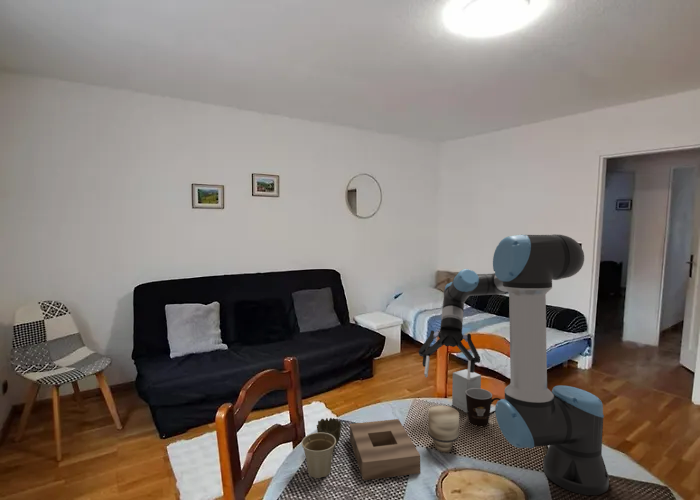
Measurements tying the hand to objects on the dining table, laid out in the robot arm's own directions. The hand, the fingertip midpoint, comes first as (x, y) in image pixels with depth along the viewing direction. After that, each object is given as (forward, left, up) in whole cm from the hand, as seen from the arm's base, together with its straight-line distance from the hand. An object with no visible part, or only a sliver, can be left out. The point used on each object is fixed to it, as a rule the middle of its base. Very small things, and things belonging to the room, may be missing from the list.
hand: (446, 378), depth 127 cm
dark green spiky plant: (-4, +39, -17) cm, 43 cm away
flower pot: (-14, +43, -17) cm, 49 cm away
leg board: (-10, +24, -17) cm, 31 cm away
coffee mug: (+1, -14, -17) cm, 22 cm away
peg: (-10, +5, -17) cm, 20 cm away
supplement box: (+13, -14, -17) cm, 26 cm away
